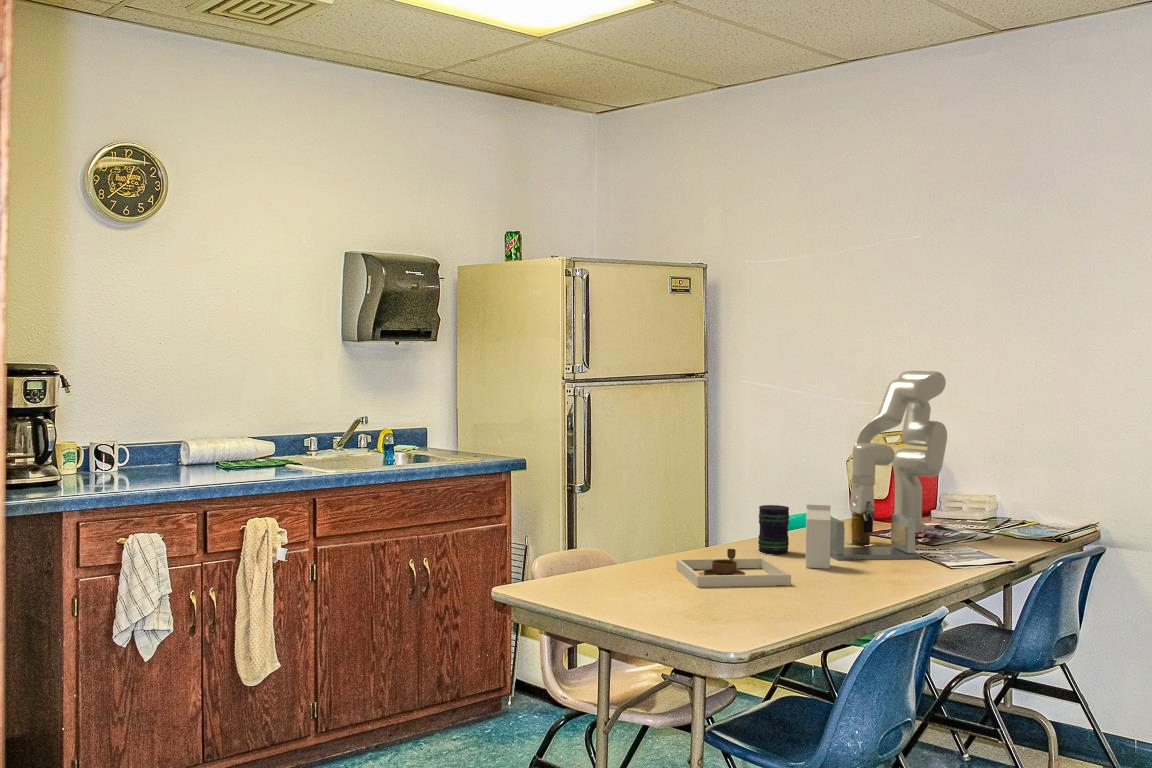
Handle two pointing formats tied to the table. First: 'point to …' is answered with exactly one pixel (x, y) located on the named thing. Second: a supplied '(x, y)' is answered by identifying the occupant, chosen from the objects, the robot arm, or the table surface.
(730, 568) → the place setting
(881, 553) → the vise base
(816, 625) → the table surface
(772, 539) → the storage jar
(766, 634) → the table surface
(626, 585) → the table surface
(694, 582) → the serving tray rim
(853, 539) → the condiment
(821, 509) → the milk carton
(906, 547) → the block
